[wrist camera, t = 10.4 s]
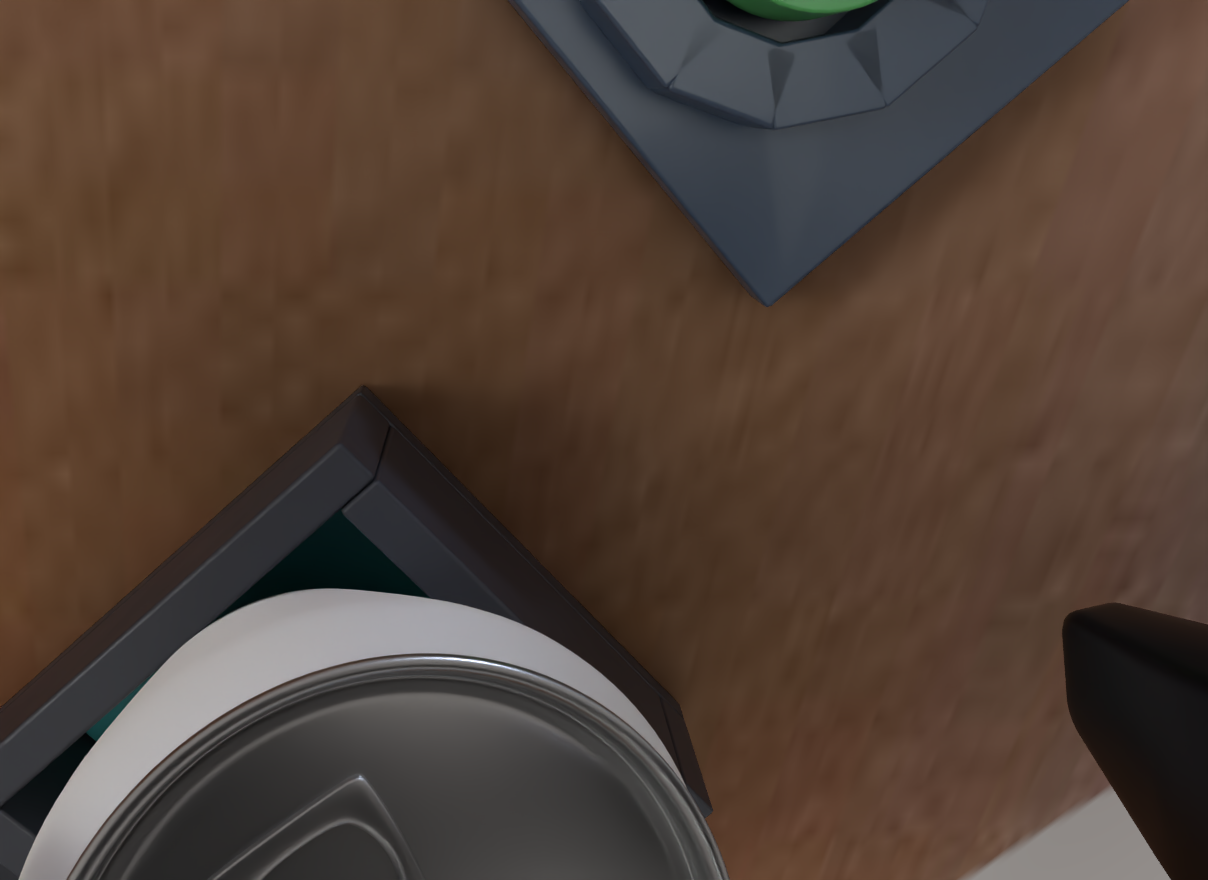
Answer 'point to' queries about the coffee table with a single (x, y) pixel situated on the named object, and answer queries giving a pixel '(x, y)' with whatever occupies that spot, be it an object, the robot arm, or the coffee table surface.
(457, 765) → the can
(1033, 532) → the coffee table surface
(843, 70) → the grey button base
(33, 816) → the divided tray
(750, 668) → the coffee table surface
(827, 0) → the button
